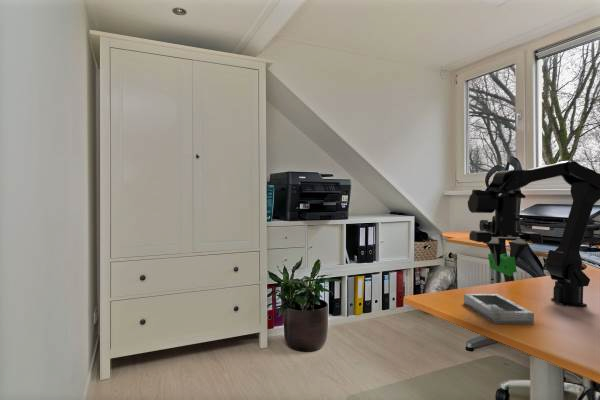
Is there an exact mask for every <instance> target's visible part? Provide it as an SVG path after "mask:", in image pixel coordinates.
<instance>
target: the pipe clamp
mask: <svg viewBox="0 0 600 400" xmlns="http://www.w3.org/2000/svg"><path fill="white" fill-rule="evenodd" d="M487 255H488V264H489V268H490V269H492V270H493V271H496V272H499V273H500V274H504V275H505V276H508V277H514V273H517V263H516V262H517V261H516V262H515V257H510V256H507V253H503V254H500V263H499V266H496V265H495V262H494V259H493V256H492V253H491V252H490V253H488V254H487Z"/></svg>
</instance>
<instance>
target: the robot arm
mask: <svg viewBox="0 0 600 400" xmlns="http://www.w3.org/2000/svg"><path fill="white" fill-rule="evenodd" d="M557 177H562V179H563V180H564V182H565V183H567V184H568V185H569V186H570V190H569V191H570V195H571V198H572V205H571V207H570V211H569V212H568V213H569V214H568V216H567V220H566V224H565V226H564V230H563V233H562V236H561V239H560V242H559V246H558V247H557V248H555V250H553V249H548V250H549V251H548V253H547V257H546V259H545V260H544V263H545V264H546V265H545V269H546V270H547V273H549V276H550V279H551V280H553V281H554V286H553V294H552V295H553V297H551V298H550V300H551V301H554V302H555V303H558V304H560V305H563V306H565V307H588V304H587V303H584V287H588V286H589V284H590V282H591V278H589V276H587V274H586V273H585V272H584V271H583V270H582V266H583V260H582V257H581V254H580V249H581V247H582V246H581V245H582V243H583V240H584V237H585V234H586V230H587V228H588V223H589V222H590V217H591V215H592V211H593V208H594V205H595V204H596V203H598V201H600V173H599V172H597V171H595V170H594V169H591V168H589V167H586V166H584V165H581V164H580V163H579V162H577V161H575V160H564V161H562V160H561V161H559V162H557V163H551V164H547V165H543V166H538V167H537V166H536V167H532V168H529V169H528V168H527V169H516V170H515V169H513V170H501V171H500V170H499V171H497V172H495V173H494V176H493V177H492V180H491V182H490V183H489V184H488V186H487V188H485V190H484V189H483V190H482V189H471V190H472V191H471V194H470V195H469V198H468V200H467V208H468V211H469V212H471V213H472V214H493V213H494V215H492V219H491V221H488V220H487V219H481V220H479V224H478V225H479V230H471V231H470V232H469V240H470V241H474V242H476V243H482V244H485V245H486V246H487V247H488V249H489V251H490V254H491V253H492V256H493V259H494V262H495V265H496V266H499V263H500V254H501V253H502V252H501V251H502V243H499V241H508V244H509V257H515V262H517V260H518V259H519V257H520V255H521V254H522V253H523V251H524V250H525V248H526V247H529V246H530V244H529V243H531V244H544V243H543V242H544V241H543V239H544V237H543V236H542V234H541V233H540V232H539V233H538V232H533V231H518V229H517V227H518V222H520V219H521V218H520V217H518V206H519V205H518V203H519V199H525V198H526V195H524V194H523V193H522V192H521V190H519V189H522V188H524V187H526V186H528V185H529V184H531V183H534V182H538V181H543V180H547V179H551V178H557ZM510 191H511V192H510ZM499 194H500V195H499ZM528 241H529V243H527V242H528Z"/></svg>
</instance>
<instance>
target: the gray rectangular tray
mask: <svg viewBox="0 0 600 400" xmlns="http://www.w3.org/2000/svg"><path fill="white" fill-rule="evenodd" d="M463 304H464V305H466V306H467V307H469V308H470V309H472V310H473V311H475V312H476V313H477V314H479V315H480V316H481V317H483V318H485V320H487V321H489V322H490V323H492V324H493V325H534V324H535V323H534V322H535V313H534V311H531V310H529V309H527V308H525V307H523V306H522V305H519V304H518V303H516V302H514V301H512V300H510V299H509V298H507V297H504V296H502V295H501V294H499V293H464V294H463Z"/></svg>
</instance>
